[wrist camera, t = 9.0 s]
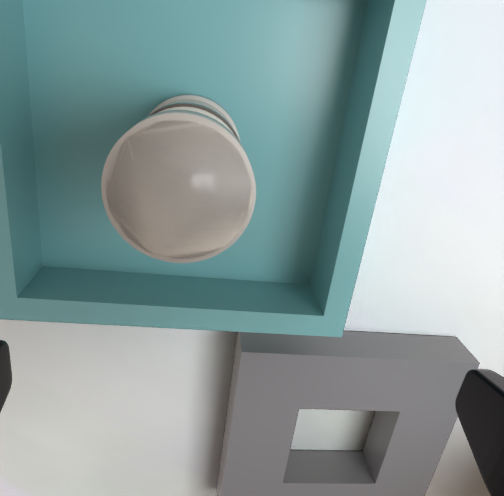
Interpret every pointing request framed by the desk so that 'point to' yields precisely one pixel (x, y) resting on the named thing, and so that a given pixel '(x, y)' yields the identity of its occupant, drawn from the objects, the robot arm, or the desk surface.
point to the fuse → (180, 182)
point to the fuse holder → (340, 398)
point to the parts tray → (251, 138)
